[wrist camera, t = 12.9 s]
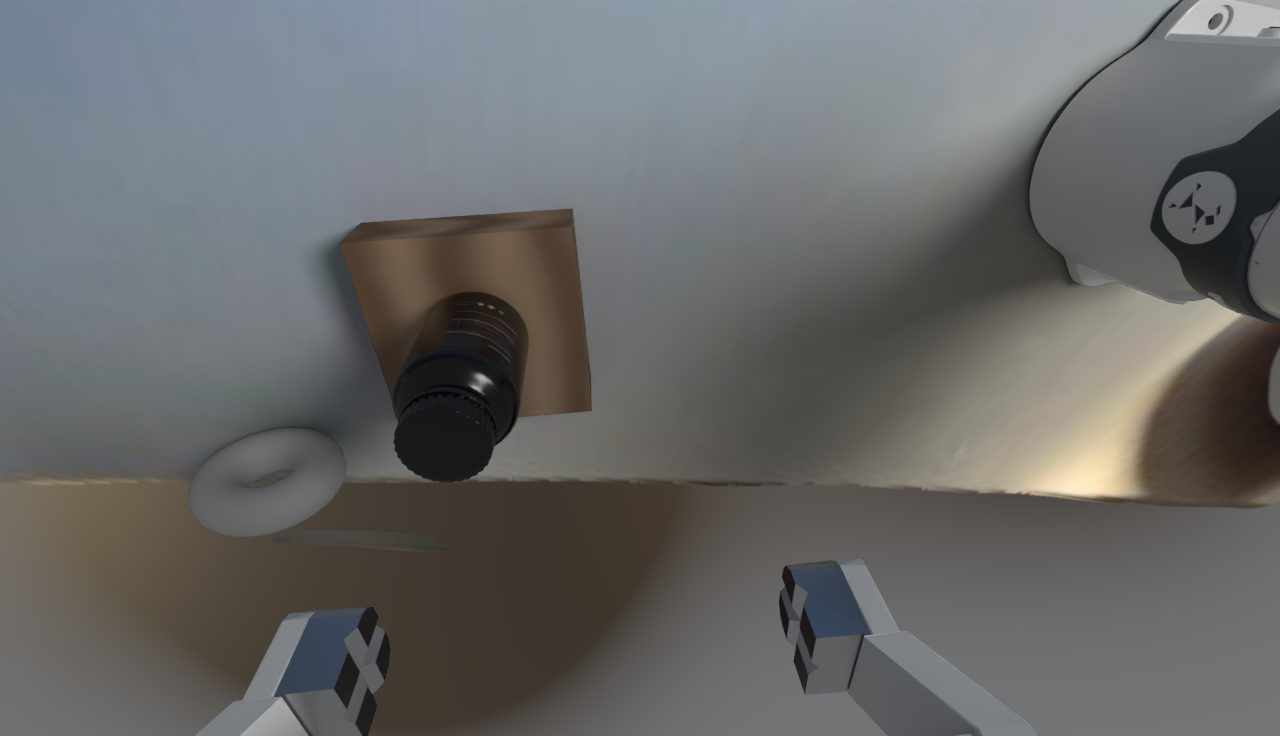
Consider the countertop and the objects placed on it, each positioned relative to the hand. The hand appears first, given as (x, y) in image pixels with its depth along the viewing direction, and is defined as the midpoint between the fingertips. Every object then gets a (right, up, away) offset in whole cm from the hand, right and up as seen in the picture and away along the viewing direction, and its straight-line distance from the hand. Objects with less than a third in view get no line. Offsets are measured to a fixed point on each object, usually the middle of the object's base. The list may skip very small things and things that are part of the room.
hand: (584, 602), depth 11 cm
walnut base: (-10, +9, +30) cm, 33 cm away
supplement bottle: (-10, +7, +27) cm, 29 cm away
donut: (-27, -1, +35) cm, 44 cm away
